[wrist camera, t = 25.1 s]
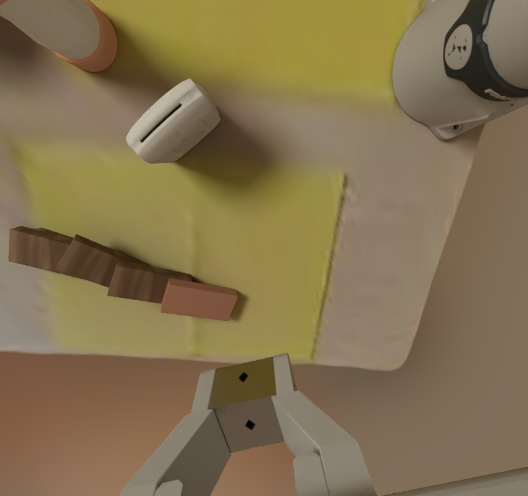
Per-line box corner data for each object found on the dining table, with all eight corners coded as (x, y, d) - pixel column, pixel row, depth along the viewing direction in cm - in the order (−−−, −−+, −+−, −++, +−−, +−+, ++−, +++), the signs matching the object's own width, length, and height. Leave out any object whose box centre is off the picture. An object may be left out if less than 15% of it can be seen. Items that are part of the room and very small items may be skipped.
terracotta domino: (238, 296, 45) (169, 284, 41) (228, 320, 47) (160, 312, 42) (235, 289, 47) (169, 277, 42) (226, 313, 48) (161, 304, 44)
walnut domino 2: (150, 271, 43) (74, 239, 37) (133, 296, 44) (55, 269, 38) (149, 265, 45) (76, 234, 39) (133, 289, 46) (58, 262, 39)
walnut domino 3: (192, 280, 44) (116, 266, 39) (181, 306, 45) (107, 295, 40) (190, 274, 46) (117, 259, 40) (180, 299, 47) (108, 288, 42)
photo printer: (206, 92, 37) (185, 63, 26) (226, 119, 39) (216, 103, 27) (151, 141, 39) (108, 136, 27) (172, 166, 40) (140, 171, 29)
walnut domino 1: (91, 250, 40) (9, 229, 39) (87, 280, 42) (8, 261, 40) (98, 245, 42) (21, 225, 41) (94, 274, 44) (19, 256, 42)
